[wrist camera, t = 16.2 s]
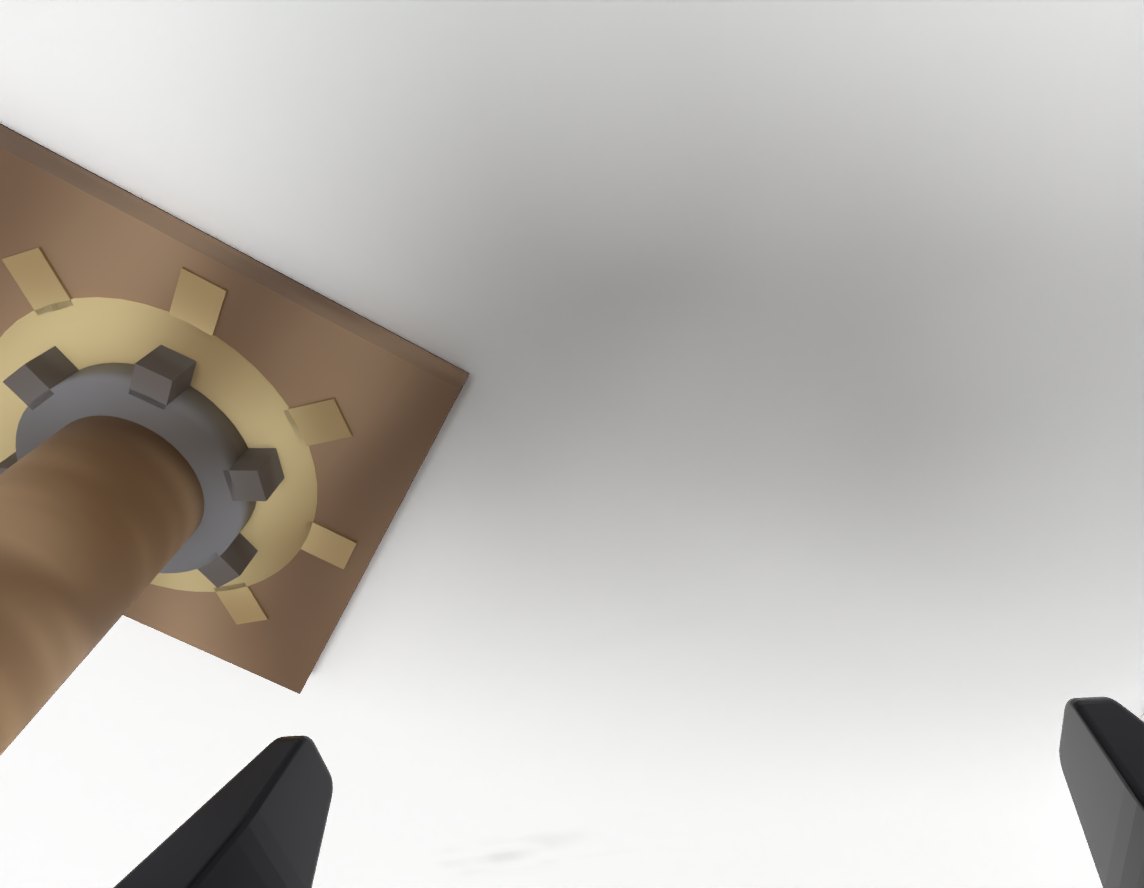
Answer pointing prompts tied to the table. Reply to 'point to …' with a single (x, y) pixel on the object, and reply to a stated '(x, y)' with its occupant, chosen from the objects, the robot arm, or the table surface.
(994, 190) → the table surface
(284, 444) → the gear board
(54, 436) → the gear spindle
